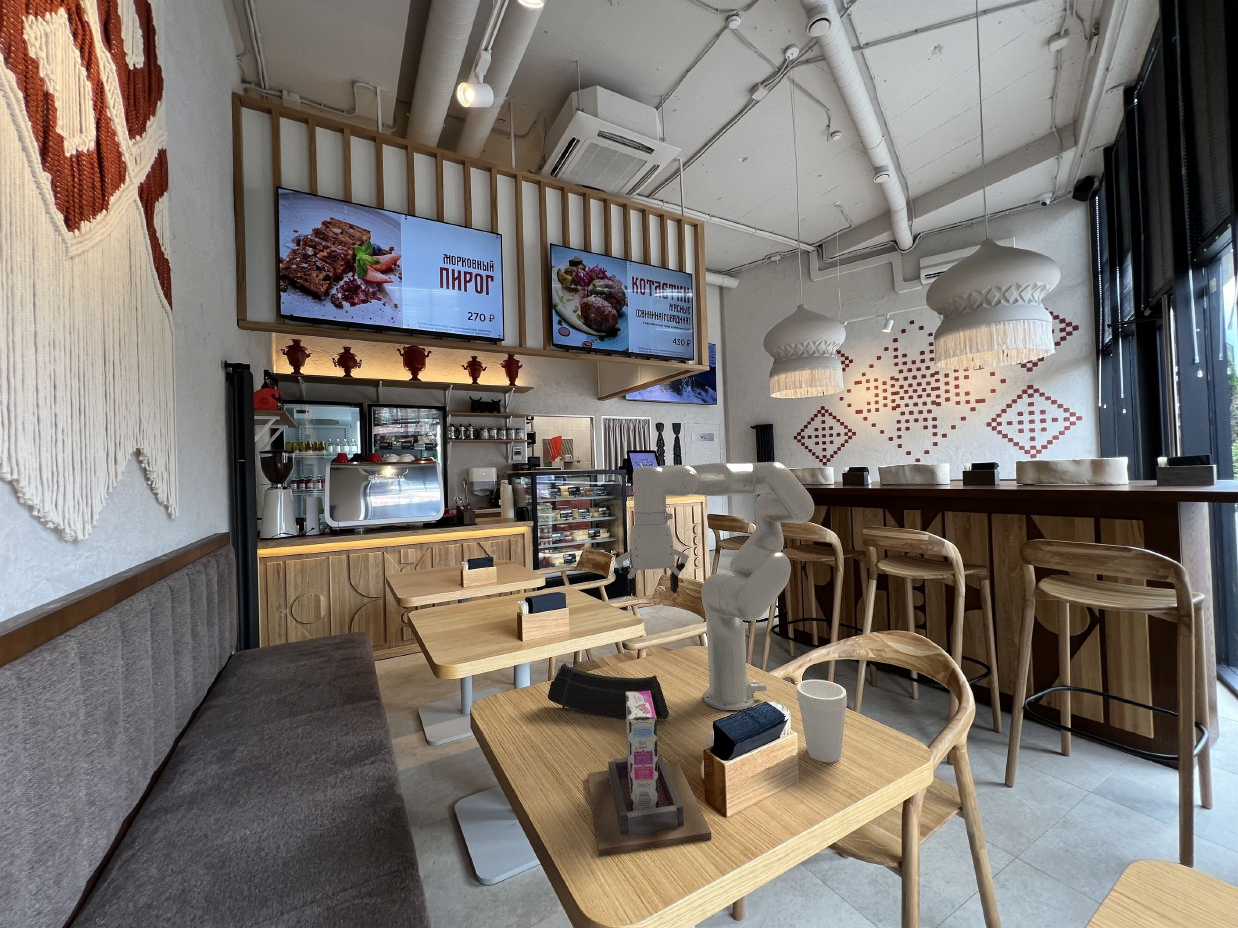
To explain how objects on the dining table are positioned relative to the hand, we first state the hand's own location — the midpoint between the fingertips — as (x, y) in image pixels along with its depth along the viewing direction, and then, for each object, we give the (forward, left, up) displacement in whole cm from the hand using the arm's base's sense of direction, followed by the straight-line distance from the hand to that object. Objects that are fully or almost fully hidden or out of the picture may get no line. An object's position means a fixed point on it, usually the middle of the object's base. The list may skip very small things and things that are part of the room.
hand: (653, 593), depth 117 cm
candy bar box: (+9, +26, -30) cm, 40 cm away
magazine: (+11, -8, -31) cm, 33 cm away
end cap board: (+9, +27, -30) cm, 42 cm away
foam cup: (-30, +19, -31) cm, 47 cm away
